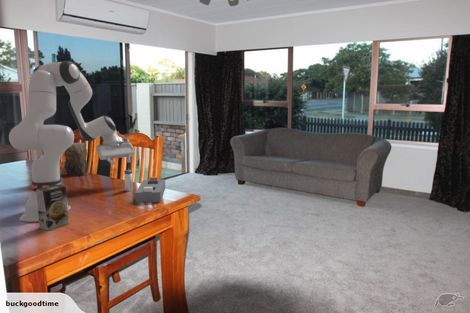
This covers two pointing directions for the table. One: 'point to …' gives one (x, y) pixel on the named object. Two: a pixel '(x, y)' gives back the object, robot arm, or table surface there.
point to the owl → (76, 159)
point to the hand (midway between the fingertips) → (121, 163)
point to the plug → (128, 180)
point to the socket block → (150, 190)
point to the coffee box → (52, 207)
